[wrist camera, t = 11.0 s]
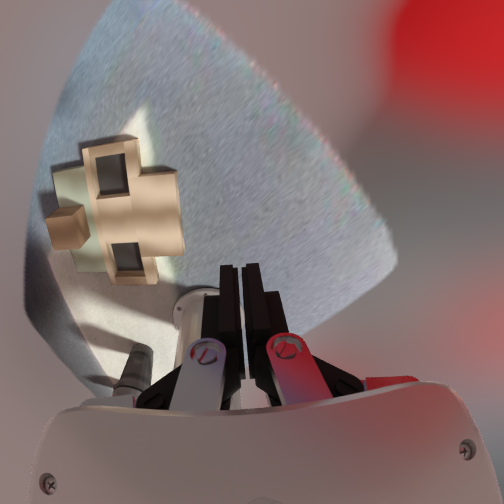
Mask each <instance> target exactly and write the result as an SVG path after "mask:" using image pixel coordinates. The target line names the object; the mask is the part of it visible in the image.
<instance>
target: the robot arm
mask: <svg viewBox="0 0 504 504" xmlns="http://www.w3.org/2000/svg"><path fill="white" fill-rule="evenodd" d="M242 285H243V302H244V309H243V307H242V305H241V303H240V296H239V282H238V268H233V265H220V287H219V289H213V288H201V289H196V290H192V291H190V292H188V293H186V294H184V295H183V296H182V297H180V298H179V300H178V301H177V302H176V304H175V307H174V311H173V320H174V323H175V325H176V327H177V329H178V330H179V335H178V342H177V349H176V355H175V362H174V370H173V371H171V372H170V373H168V374H167V375H166V376H164V377H163V378H161V379H160V380H159V381H157V382H156V383H154V384H153V385H152V386H150V387H149V388H147V389H146V390H144V391H143V392H142V393H141V394H140V395H139V396H133V395H132V394H130V395H122V396H113V397H103V398H92V399H87V400H85V401H84V402H82V403H81V405H80V406H79V407H74V408H70V409H66V410H63V411H60V412H58V413H56V414H55V415H53V416H52V417H51V418H50V419H49V421H48V422H47V424H46V426H45V427H44V430H43V432H42V434H41V437H40V440H39V443H38V446H37V449H36V453H35V457H34V460H33V464H32V469H31V475H30V481H29V488H28V495H27V503H26V504H503V501H502V497H501V493H500V489H499V485H498V481H497V478H496V474H495V471H494V468H493V465H492V462H491V459H490V456H489V454H488V451H487V449H486V446H485V443H484V441H483V439H482V436H481V434H480V432H479V429H478V427H477V425H476V423H475V421H474V419H473V417H472V415H471V413H470V412H469V410H468V408H467V407H466V405H465V403H464V402H463V400H462V399H461V398H460V396H459V395H458V394H457V393H456V392H455V391H454V390H453V389H452V388H451V387H449V386H448V385H445V384H442V383H438V382H428V381H419V380H418V379H417V378H415V377H413V376H393V377H366V378H365V380H359V379H358V378H357V377H355V376H353V375H351V374H349V373H347V372H345V371H343V370H341V369H339V368H337V367H335V366H333V365H331V364H329V363H327V362H325V361H323V360H321V359H319V358H317V357H315V356H313V355H312V354H311V353H310V350H309V348H308V347H307V345H306V343H305V341H304V340H303V339H302V338H301V337H300V336H298V335H296V334H293V333H289V330H288V326H287V322H286V318H285V314H284V310H283V306H282V302H281V298H280V294H279V292H278V291H270V292H264V289H263V284H262V279H261V273H260V268H259V263H250V264H246V267H242ZM244 322H245V330H246V341H247V352H248V363H249V374H250V379H255V382H256V386H257V387H258V388H260V389H261V390H263V391H264V392H265V393H266V398H267V401H268V404H269V407H266V408H255V409H242V406H241V393H240V388H241V379H246V377H245V364H244V351H243V338H242V328H243V326H244Z"/></svg>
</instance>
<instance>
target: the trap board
mask: <svg viewBox="0 0 504 504" xmlns="http://www.w3.org/2000/svg"><path fill="white" fill-rule="evenodd" d="M82 152H83V160H84V165H80V166H75V167H70V168H65V169H60V170H58V171H56V172H54V173H53V179H54V184H55V189H56V194H57V199H58V204H59V208H64V207H72V206H80V205H84V207H85V212H86V217H87V222H88V226H89V230H90V234H91V237H90V238H89V239H88V240H87V241H86V242H85V244H84V245H83V246H82V247H81V248H80V249H71V253H72V256H73V259H74V262H75V265H76V268H77V271H78V273H84V272H108V275H109V278H110V281H111V284H112V285H149V284H157V281H158V278H159V275H158V270H157V265H156V260H155V257H156V256H182V255H183V254H184V251H185V245H184V237H183V228H182V220H181V210H180V200H179V189H178V178H177V170H176V171H164V172H153V173H143V174H142V168H141V158H140V147H139V138H138V139H131V140H125V141H118V142H112V143H107V144H101V145H96V146H91V147H87V148H84V149H82Z"/></svg>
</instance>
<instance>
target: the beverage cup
mask: <svg viewBox="0 0 504 504" xmlns="http://www.w3.org/2000/svg"><path fill="white" fill-rule="evenodd" d="M152 366H153V350H152V349H151V348H150V347H149V346H147V345H144V344H136V345H134V346H133V349H132V351H131V353H130V355H129V358H128V360H127V363H126V365H125V368H124V370H123V373H122V375H121V378H120V380H119V381H118V383H117V385H116V387H115V388H114V396H122V395H130V394H132V395H133V396H139V395H140V394H141V393H142V392H143V391H144V390H146V389H147V388H149V387H150V386H151V377H152Z"/></svg>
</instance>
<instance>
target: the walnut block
mask: <svg viewBox="0 0 504 504" xmlns="http://www.w3.org/2000/svg"><path fill="white" fill-rule="evenodd" d="M45 220H46V224H47V228H48V232H49V235H50V239H51V242H52V245H53V249H54V250H68V249H80V248H81V247H82V246H83V245H84V244H85V242H86V241H87V240H88V239H89V238H90V237H91V234H90V230H89V226H88V222H87V217H86V212H85V207H84V205H80V206H72V207H64V208H58V209H57V210H55V211H54V212H53V213H52V214H50V215H49V216H48V217H47V218H45Z"/></svg>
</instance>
